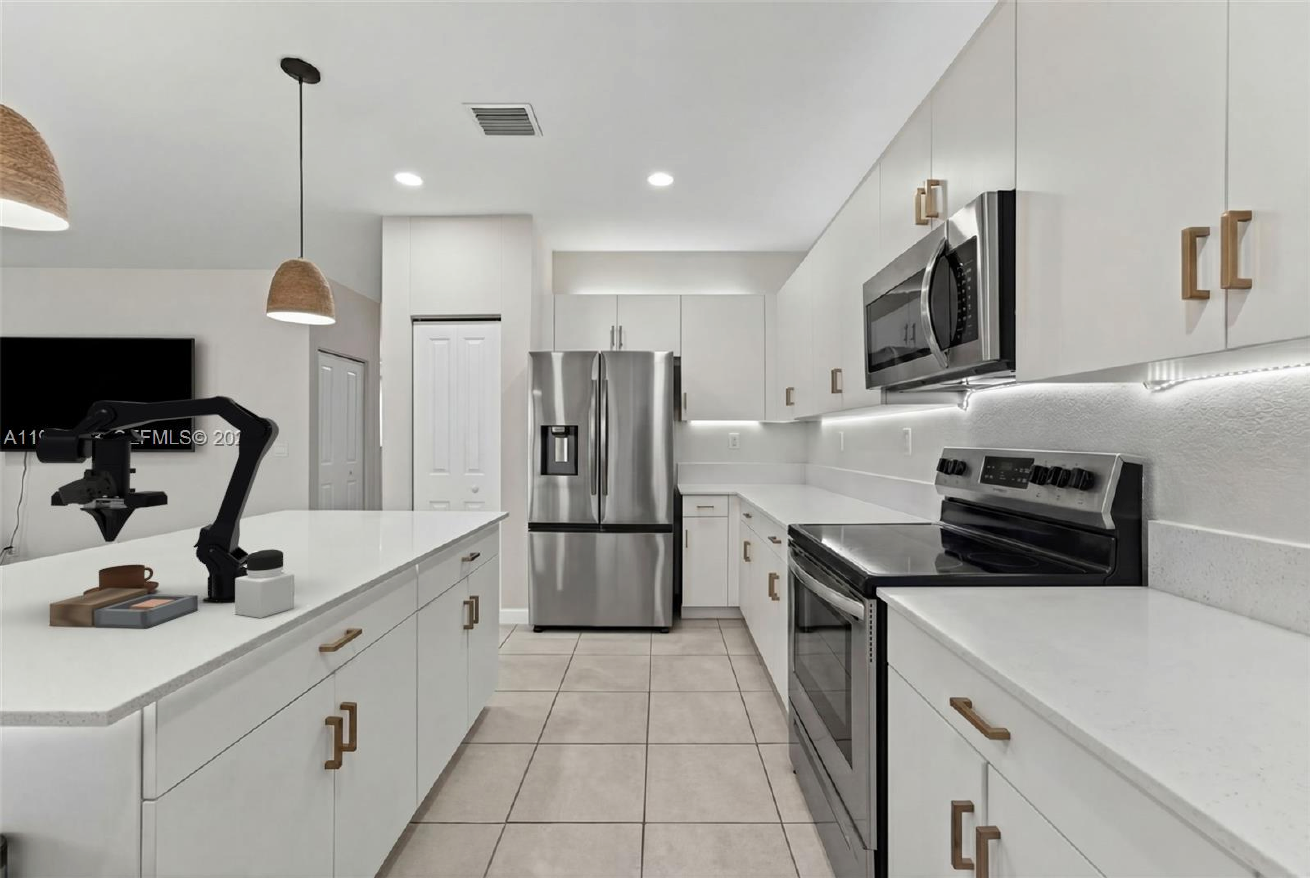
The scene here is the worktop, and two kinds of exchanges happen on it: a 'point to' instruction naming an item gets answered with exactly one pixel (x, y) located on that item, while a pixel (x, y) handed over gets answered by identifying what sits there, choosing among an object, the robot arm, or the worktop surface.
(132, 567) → the cup and saucer
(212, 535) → the robot arm
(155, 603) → the tile
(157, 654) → the worktop surface
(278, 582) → the medicine bottle
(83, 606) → the tan wooden board
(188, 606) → the box
